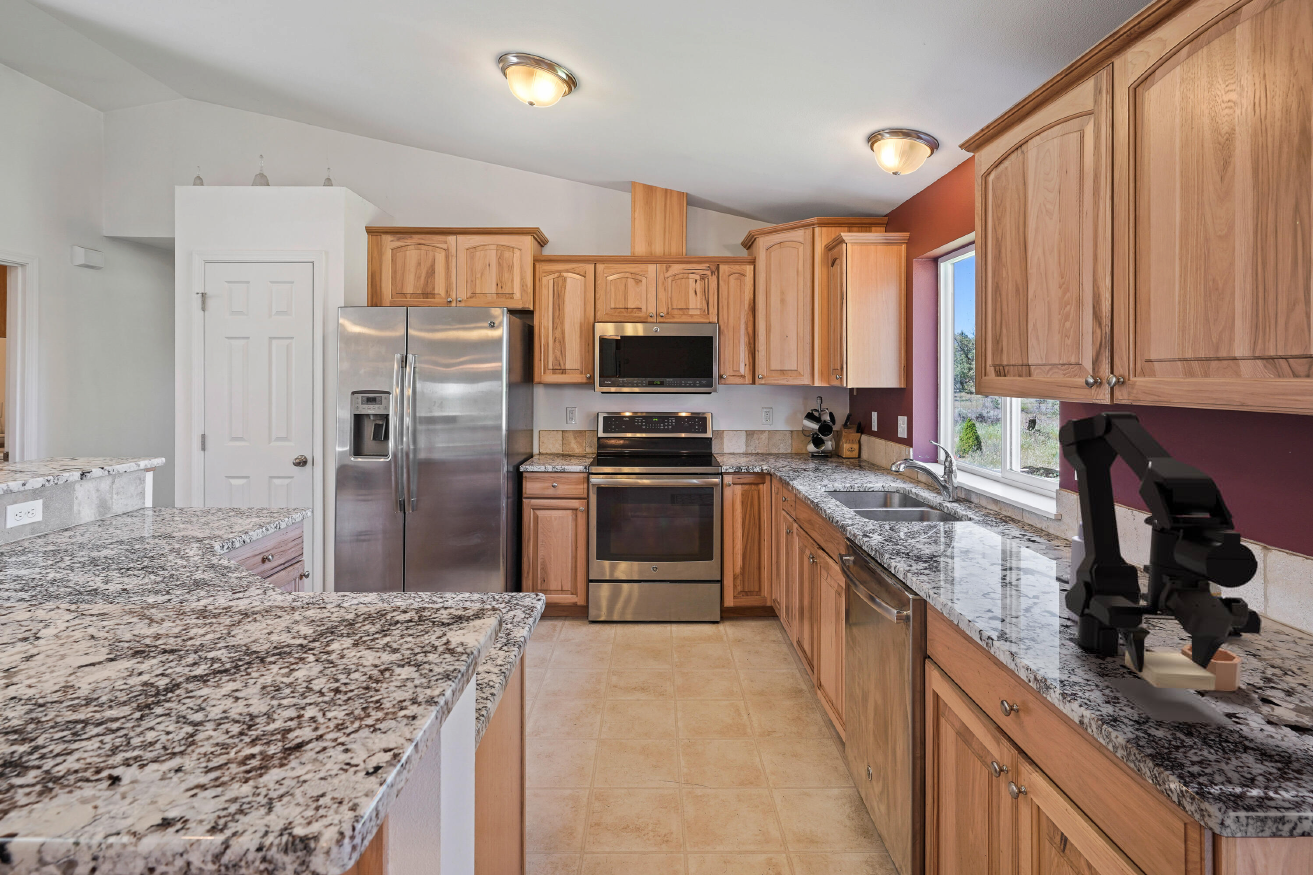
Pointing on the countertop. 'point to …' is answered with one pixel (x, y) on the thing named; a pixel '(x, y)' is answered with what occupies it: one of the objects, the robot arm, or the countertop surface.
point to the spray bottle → (1076, 561)
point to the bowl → (1221, 668)
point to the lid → (1173, 671)
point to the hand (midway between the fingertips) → (1167, 672)
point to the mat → (1168, 702)
